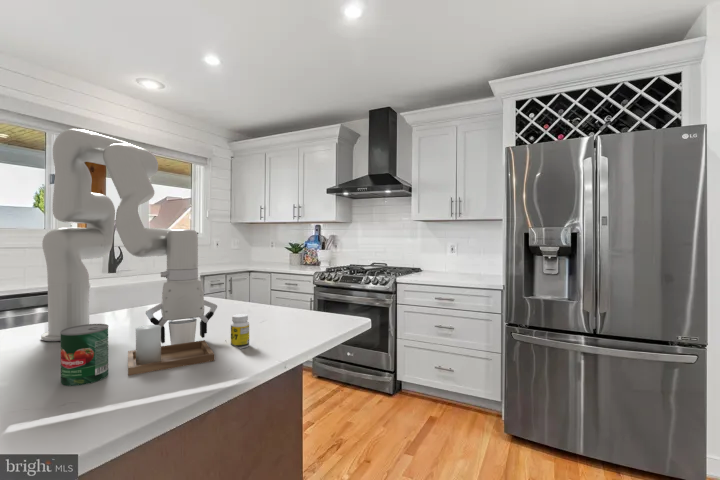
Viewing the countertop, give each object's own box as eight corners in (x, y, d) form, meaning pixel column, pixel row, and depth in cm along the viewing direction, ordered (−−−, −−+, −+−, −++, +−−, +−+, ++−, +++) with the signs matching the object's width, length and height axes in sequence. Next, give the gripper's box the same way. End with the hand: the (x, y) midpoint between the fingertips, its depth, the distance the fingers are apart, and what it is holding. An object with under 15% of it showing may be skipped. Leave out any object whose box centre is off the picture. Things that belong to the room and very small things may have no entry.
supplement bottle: (227, 346, 99) (227, 315, 99) (243, 342, 103) (243, 312, 103) (236, 350, 96) (236, 318, 96) (252, 346, 100) (252, 315, 99)
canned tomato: (54, 392, 70) (53, 335, 70) (67, 377, 78) (67, 325, 77) (104, 386, 74) (103, 331, 73) (112, 372, 81) (112, 322, 81)
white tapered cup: (185, 351, 95) (185, 324, 95) (162, 349, 97) (162, 322, 97) (202, 343, 102) (202, 318, 102) (180, 341, 103) (180, 316, 103)
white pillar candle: (135, 361, 85) (135, 326, 85) (160, 357, 88) (160, 323, 88) (136, 367, 81) (135, 331, 81) (161, 363, 84) (161, 328, 84)
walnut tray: (128, 360, 88) (127, 351, 88) (204, 348, 97) (204, 340, 97) (128, 379, 77) (128, 368, 77) (214, 364, 86) (214, 354, 86)
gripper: (145, 279, 91) (146, 348, 91) (219, 274, 100) (219, 337, 101) (144, 276, 98) (145, 340, 98) (214, 272, 107) (214, 331, 107)
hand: (183, 339), depth 99 cm, fingers open, 9 cm apart
